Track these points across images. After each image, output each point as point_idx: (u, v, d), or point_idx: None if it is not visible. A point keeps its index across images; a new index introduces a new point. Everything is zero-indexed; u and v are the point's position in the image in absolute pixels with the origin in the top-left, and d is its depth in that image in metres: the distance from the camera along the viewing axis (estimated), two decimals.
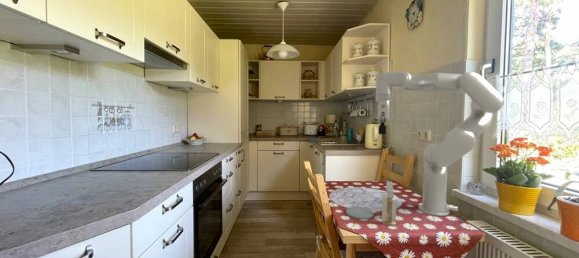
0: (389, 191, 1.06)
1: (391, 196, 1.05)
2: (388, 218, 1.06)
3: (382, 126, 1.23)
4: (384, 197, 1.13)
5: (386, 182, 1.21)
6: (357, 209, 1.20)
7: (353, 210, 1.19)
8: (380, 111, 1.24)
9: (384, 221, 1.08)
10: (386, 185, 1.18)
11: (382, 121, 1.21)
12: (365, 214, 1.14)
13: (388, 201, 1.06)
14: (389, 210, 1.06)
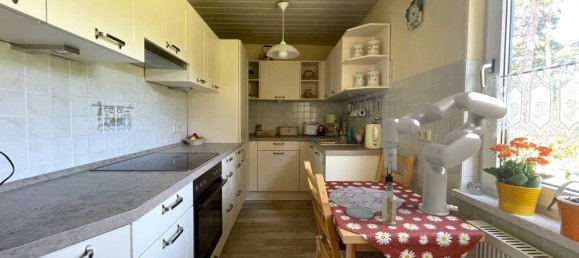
0: (389, 191, 1.05)
1: (391, 196, 1.05)
2: (388, 218, 1.06)
3: (389, 177, 1.20)
4: (384, 197, 1.13)
5: (386, 182, 1.20)
6: (357, 209, 1.20)
7: (353, 210, 1.19)
8: (387, 160, 1.17)
9: (384, 221, 1.08)
10: (386, 185, 1.18)
11: None
12: (365, 214, 1.14)
13: (388, 201, 1.06)
14: (389, 210, 1.06)
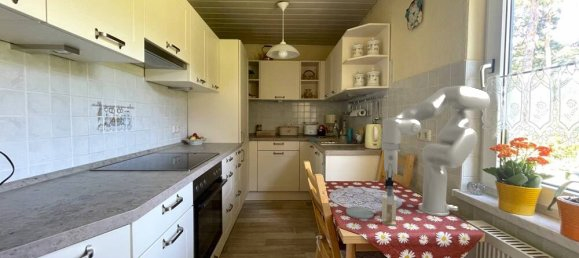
0: (390, 197, 0.98)
1: (392, 202, 0.98)
2: (388, 218, 1.06)
3: (389, 181, 1.13)
4: (384, 197, 1.13)
5: None
6: (357, 209, 1.20)
7: (353, 210, 1.19)
8: (387, 163, 1.10)
9: (384, 221, 1.08)
10: None
11: None
12: (365, 214, 1.14)
13: None
14: (389, 210, 1.06)
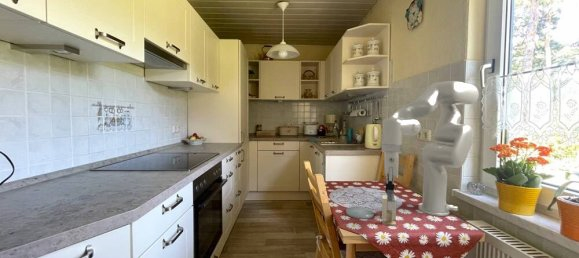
0: (390, 202, 0.92)
1: (392, 208, 0.92)
2: (388, 218, 1.06)
3: (390, 184, 1.07)
4: (384, 197, 1.13)
5: None
6: (357, 209, 1.20)
7: (353, 210, 1.19)
8: (387, 166, 1.04)
9: (384, 221, 1.08)
10: None
11: None
12: (365, 214, 1.14)
13: None
14: (389, 210, 1.06)
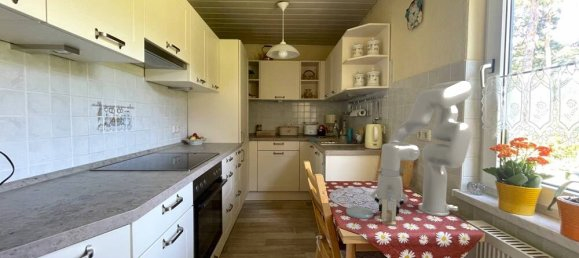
0: (390, 202, 0.92)
1: (392, 208, 0.91)
2: (388, 218, 1.06)
3: None
4: None
5: (387, 191, 1.06)
6: (357, 209, 1.20)
7: (353, 210, 1.19)
8: None
9: (384, 221, 1.08)
10: None
11: None
12: (365, 214, 1.14)
13: None
14: (389, 210, 1.06)
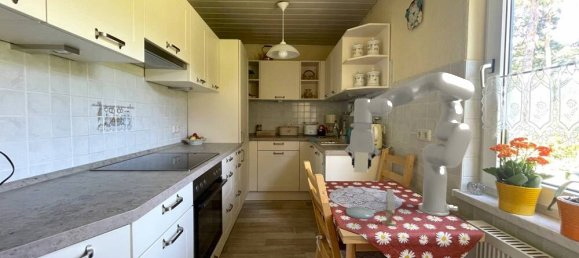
0: (390, 202, 0.92)
1: (392, 208, 0.91)
2: (388, 218, 1.06)
3: (352, 158, 1.18)
4: None
5: (387, 191, 1.06)
6: (357, 209, 1.20)
7: (353, 210, 1.19)
8: None
9: (384, 221, 1.08)
10: None
11: None
12: (365, 214, 1.14)
13: None
14: (389, 210, 1.06)
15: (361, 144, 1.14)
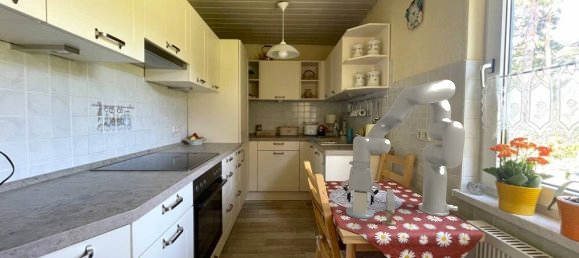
0: (390, 202, 0.92)
1: (392, 208, 0.91)
2: (388, 218, 1.06)
3: None
4: (356, 191, 1.17)
5: (387, 191, 1.06)
6: None
7: None
8: None
9: (384, 221, 1.08)
10: None
11: None
12: (365, 214, 1.14)
13: None
14: (389, 210, 1.06)
15: (360, 183, 1.14)
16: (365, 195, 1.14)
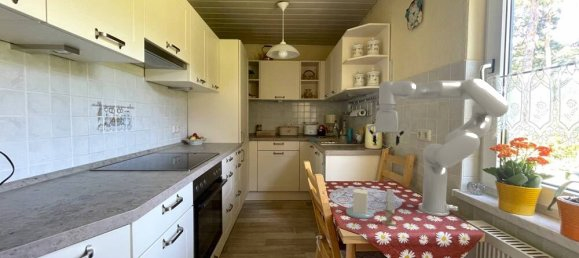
0: (390, 202, 0.92)
1: (392, 208, 0.91)
2: (388, 218, 1.06)
3: (373, 136, 1.27)
4: (356, 191, 1.17)
5: (387, 191, 1.06)
6: None
7: None
8: None
9: (384, 221, 1.08)
10: None
11: (369, 131, 1.27)
12: (365, 214, 1.14)
13: None
14: (389, 210, 1.06)
15: (386, 124, 1.22)
16: (365, 195, 1.14)
